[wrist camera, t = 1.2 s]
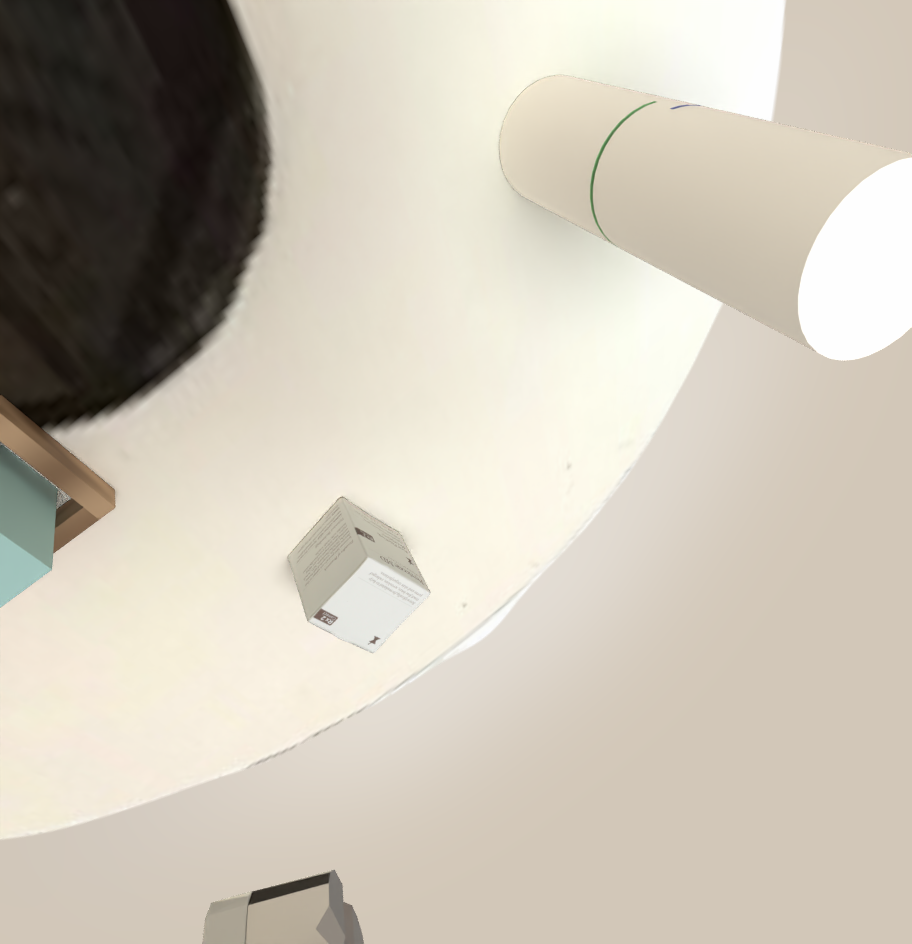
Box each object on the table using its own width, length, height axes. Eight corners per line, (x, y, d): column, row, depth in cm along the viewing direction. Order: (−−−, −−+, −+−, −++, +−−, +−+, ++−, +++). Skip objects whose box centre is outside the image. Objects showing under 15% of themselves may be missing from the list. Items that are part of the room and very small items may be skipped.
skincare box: (400, 531, 58) (434, 593, 52) (347, 589, 59) (375, 657, 53) (339, 493, 55) (368, 556, 49) (283, 556, 55) (305, 625, 50)
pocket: (-123, 486, 43) (-131, 505, 42) (0, 394, 43) (-3, 410, 42) (4, 571, 48) (1, 591, 47) (114, 489, 48) (115, 507, 47)
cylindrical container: (600, 197, 50) (927, 345, 31) (497, 208, 48) (778, 374, 28) (612, 72, 46) (994, 148, 27) (500, 78, 44) (827, 166, 25)
